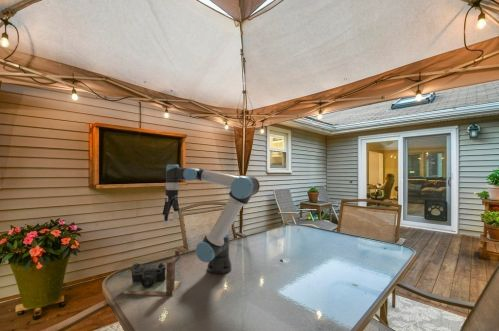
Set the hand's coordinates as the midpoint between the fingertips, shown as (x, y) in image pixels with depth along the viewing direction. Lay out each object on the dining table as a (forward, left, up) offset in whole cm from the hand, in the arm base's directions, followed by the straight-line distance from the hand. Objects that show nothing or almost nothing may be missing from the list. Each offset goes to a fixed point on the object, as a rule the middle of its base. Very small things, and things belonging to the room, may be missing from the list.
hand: (171, 223), depth 141 cm
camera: (+3, +22, -27) cm, 35 cm away
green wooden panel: (0, +22, -29) cm, 36 cm away
